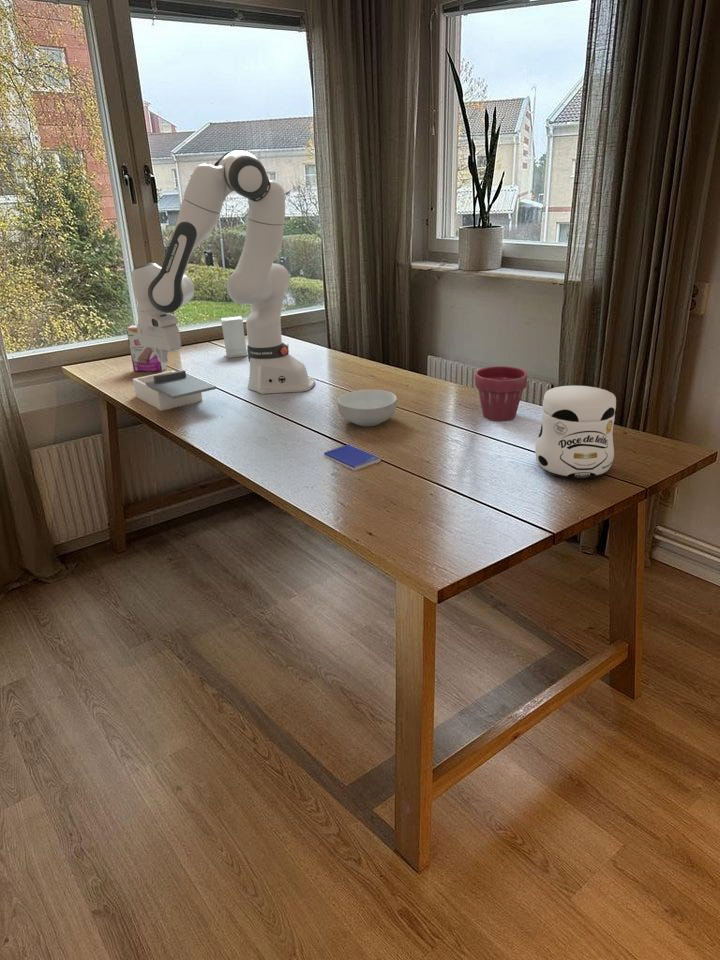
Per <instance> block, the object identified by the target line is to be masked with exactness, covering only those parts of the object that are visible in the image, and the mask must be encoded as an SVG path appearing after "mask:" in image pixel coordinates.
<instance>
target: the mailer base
mask: <svg viewBox="0 0 720 960" xmlns="http://www.w3.org/2000/svg"><path fill="white" fill-rule="evenodd" d="M172 372H176V371H175V370H169V371H162V372H159V373H154V374H149V375H144V376H139V377H135V378H132V383H133V387H134V395H135V397H136V398H138V399H140V400H141V401H143V402H144V403H146V404H148V405H150V406H151V407H153V406H154V407H153V408H155V407H156V408H155V409H157V410H158V411H161V412H162V411H166V410H169V409H174V407H175V408H178V406H179V407H182V405H183V406H186V404H187V405H190V403H191V404H194V402H195V403H198V401H199V402H203V395H202V392H201V393H197V394H192V395H188V396H184V397H180V398H175V399H172V398H170V397H168V396H166V395H164V394H162V393H160V392H159V391H157V390H155V389H153V388H151V387H149V386H147V385H146V382H150V381H154V377H153V376H158V375H162V374H167V373H172Z"/></svg>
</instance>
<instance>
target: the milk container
mask: <svg viewBox="0 0 720 960" xmlns="http://www.w3.org/2000/svg"><path fill="white" fill-rule="evenodd" d="M616 409H617V398H616V395H615V394H614V393H613V392H610V391H608V390H607V389H603V388H599V387H595V386H588V385H561V386H557V387H553V388H552V387H551V388H550V389H547V390H546V392H545V393H544V396H543V401H542V411H541V427H540V430H539V431H540V432H539V435H538V436H537V439H536V443H535V447H534V448H535V449H534V450H535V451H534V453H535V454H534V455H535V459H536V460H535V461H536V463H537V465H538V467H540V469H542V470H543V471H544V472H546V473H548V474H551V475H553V476H556V477H561V478H565V479H572V480H573V479H574V480H583V479H585V480H586V479H592V478H596V477H600V476H601V475H604V474H605V473H607V472H608V471H609V470H610V468H611V466H612V464H613V460H614V457H615V445H614V438H613V433H614V432H613V431H614V423H615V417H616V413H615V412H616Z"/></svg>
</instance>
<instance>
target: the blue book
mask: <svg viewBox="0 0 720 960" xmlns="http://www.w3.org/2000/svg"><path fill="white" fill-rule="evenodd" d="M323 456H324V457H326V458H328V459H330V460H332V461H333V462H336V463H338V464H341V465H342V466H344V467H346V468H349V469H350V470H352V471H357V470H360V469H362V468H366V467H368V466H371V465H373V464H376V463H379V462H381V457H379V456H377V455H374V454H372V453H370V452H367V451H364V450H362V449H360V448H357V447H355V446H353V445H350V444H346V445H343V446H340V447H337V448H334V449H331V450H327V451H325V452H323Z"/></svg>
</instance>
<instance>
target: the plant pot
mask: <svg viewBox="0 0 720 960" xmlns="http://www.w3.org/2000/svg"><path fill="white" fill-rule="evenodd" d="M474 386H475V388H476V389H478V395H479V396H478V397H479V401H480V406H481V407H480V408H481V411H482V416H483V418H484V419H487V420H489V421H493V422H506V421H511V420H513V419H515V418H516V415H517V411H518V408H519V406H520V402H521V398H522V394H523V391H524V389H526V388H527V386H528V373H527V371H526V370H525V369H521V368H518V367H514V366H506V365H505V366H503V365H500V366H499V365H498V366H497V365H495V366H489V367H483V368H480V369H478V370H476V371H475V374H474Z"/></svg>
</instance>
